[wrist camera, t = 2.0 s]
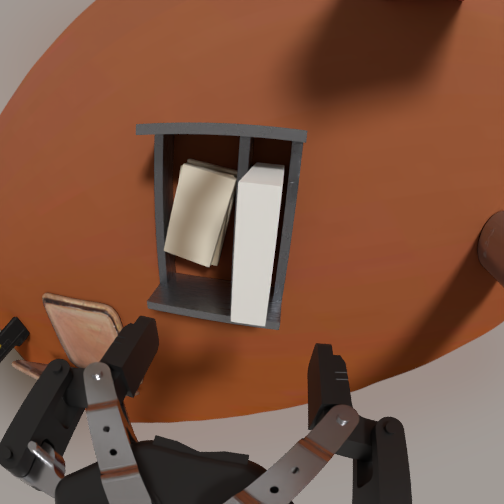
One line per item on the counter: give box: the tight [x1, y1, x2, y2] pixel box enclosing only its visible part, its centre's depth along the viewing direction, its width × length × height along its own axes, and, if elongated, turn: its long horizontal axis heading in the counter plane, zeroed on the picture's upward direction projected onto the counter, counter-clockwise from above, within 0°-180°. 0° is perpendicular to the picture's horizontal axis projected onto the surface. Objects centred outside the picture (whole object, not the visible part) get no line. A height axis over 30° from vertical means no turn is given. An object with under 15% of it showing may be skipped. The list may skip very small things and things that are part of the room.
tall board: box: [231, 162, 285, 326], centre depth 26 cm, size 3×12×12 cm, turn 175°
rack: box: [136, 123, 307, 330], centre depth 29 cm, size 15×20×7 cm
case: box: [12, 293, 143, 396], centre depth 39 cm, size 20×21×16 cm
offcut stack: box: [164, 158, 238, 267], centre depth 31 cm, size 6×11×4 cm, turn 165°
